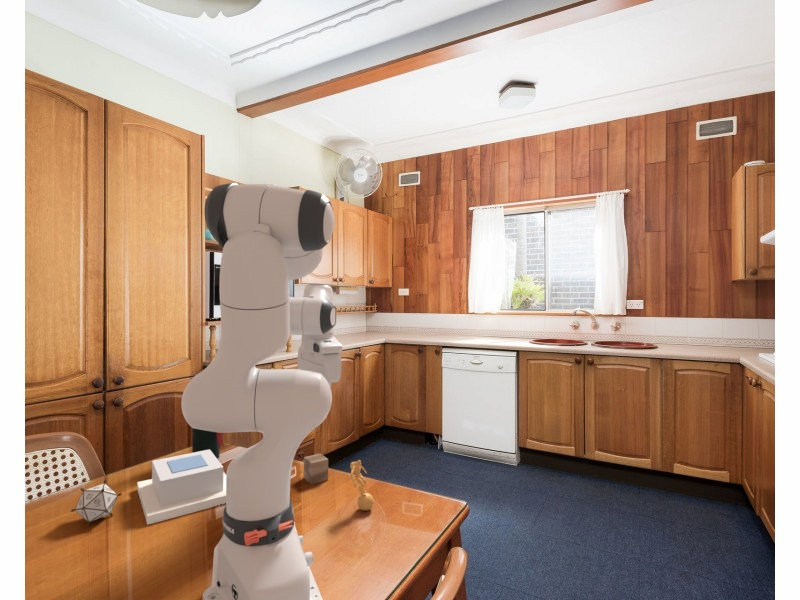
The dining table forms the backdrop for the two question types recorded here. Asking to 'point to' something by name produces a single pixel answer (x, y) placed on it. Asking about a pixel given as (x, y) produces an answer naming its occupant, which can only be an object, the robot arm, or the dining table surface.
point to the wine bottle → (206, 436)
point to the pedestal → (182, 486)
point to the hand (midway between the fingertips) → (317, 392)
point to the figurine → (361, 487)
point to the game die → (96, 502)
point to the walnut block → (315, 468)
